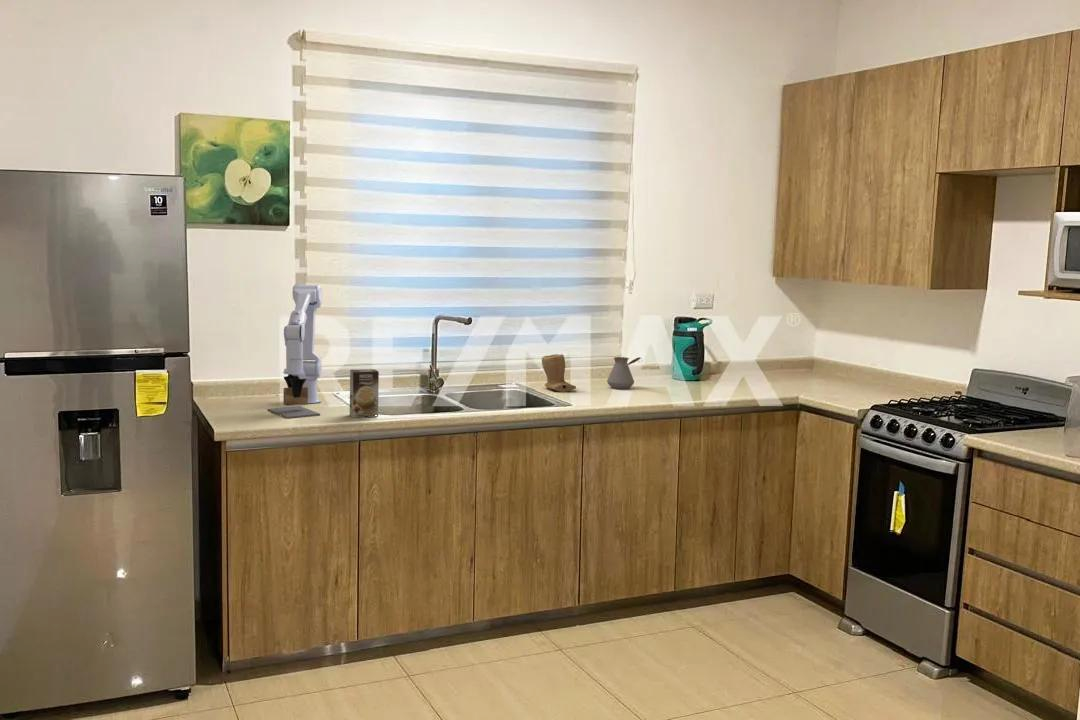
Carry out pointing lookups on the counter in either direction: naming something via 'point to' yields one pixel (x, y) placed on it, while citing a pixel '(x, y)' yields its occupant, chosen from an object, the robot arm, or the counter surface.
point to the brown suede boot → (556, 373)
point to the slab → (300, 400)
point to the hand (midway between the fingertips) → (295, 396)
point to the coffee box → (364, 392)
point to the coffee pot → (621, 374)
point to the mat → (294, 412)
